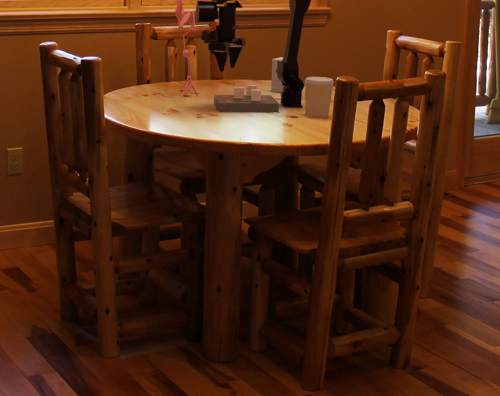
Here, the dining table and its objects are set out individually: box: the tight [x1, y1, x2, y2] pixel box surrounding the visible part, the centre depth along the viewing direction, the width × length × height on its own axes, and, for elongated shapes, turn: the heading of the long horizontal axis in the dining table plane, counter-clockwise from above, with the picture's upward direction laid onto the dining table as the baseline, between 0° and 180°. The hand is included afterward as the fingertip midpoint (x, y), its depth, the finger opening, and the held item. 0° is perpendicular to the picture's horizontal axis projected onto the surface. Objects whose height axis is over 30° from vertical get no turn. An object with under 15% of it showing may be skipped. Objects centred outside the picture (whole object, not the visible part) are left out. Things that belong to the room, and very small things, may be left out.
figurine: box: [161, 0, 199, 98], centre depth 256 cm, size 15×26×35 cm, turn 8°
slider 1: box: [233, 86, 245, 99], centre depth 238 cm, size 3×2×4 cm
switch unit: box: [213, 94, 280, 113], centre depth 240 cm, size 20×15×3 cm
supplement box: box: [270, 56, 285, 94], centre depth 272 cm, size 7×7×13 cm
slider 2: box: [245, 84, 257, 96], centre depth 243 cm, size 3×2×4 cm
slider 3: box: [251, 88, 262, 101], centre depth 235 cm, size 3×2×4 cm
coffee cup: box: [304, 76, 335, 119], centre depth 231 cm, size 9×9×12 cm
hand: (227, 69), depth 237 cm, fingers open, 9 cm apart
